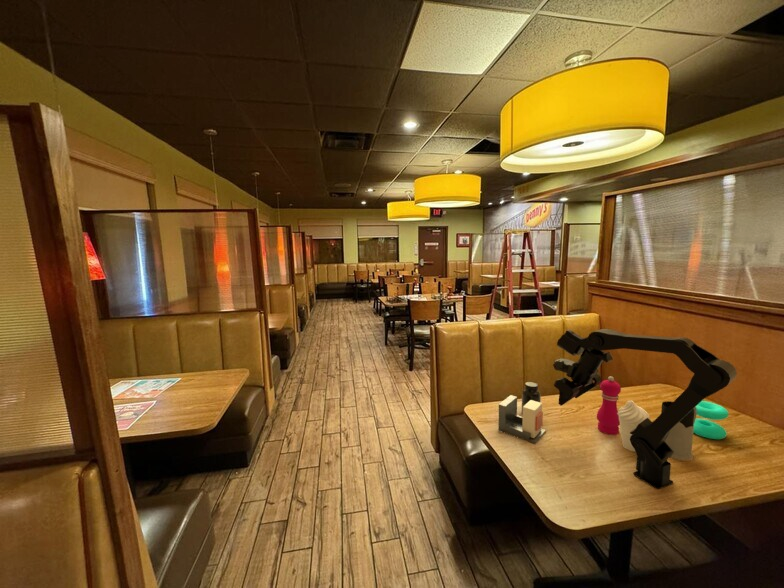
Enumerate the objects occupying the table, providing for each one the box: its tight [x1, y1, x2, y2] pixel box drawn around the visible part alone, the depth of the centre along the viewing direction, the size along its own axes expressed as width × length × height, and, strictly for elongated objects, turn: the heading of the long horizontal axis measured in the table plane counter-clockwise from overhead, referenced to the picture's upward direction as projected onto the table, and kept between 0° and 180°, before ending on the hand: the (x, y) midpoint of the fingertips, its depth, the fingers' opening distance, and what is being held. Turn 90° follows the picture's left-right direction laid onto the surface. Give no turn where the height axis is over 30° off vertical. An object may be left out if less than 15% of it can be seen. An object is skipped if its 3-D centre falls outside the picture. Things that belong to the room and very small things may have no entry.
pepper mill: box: [596, 375, 622, 436], centre depth 111 cm, size 7×7×20 cm
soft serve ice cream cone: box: [617, 400, 651, 453], centre depth 101 cm, size 8×8×16 cm
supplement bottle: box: [521, 381, 542, 413], centre depth 125 cm, size 7×7×12 cm
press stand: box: [497, 394, 547, 445], centre depth 113 cm, size 13×10×10 cm
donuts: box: [693, 400, 729, 440], centre depth 108 cm, size 10×10×10 cm
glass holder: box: [660, 400, 697, 461], centre depth 99 cm, size 9×14×15 cm, turn 111°
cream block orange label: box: [522, 400, 544, 438], centre depth 110 cm, size 5×7×10 cm, turn 136°
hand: (567, 400), depth 106 cm, fingers open, 9 cm apart
